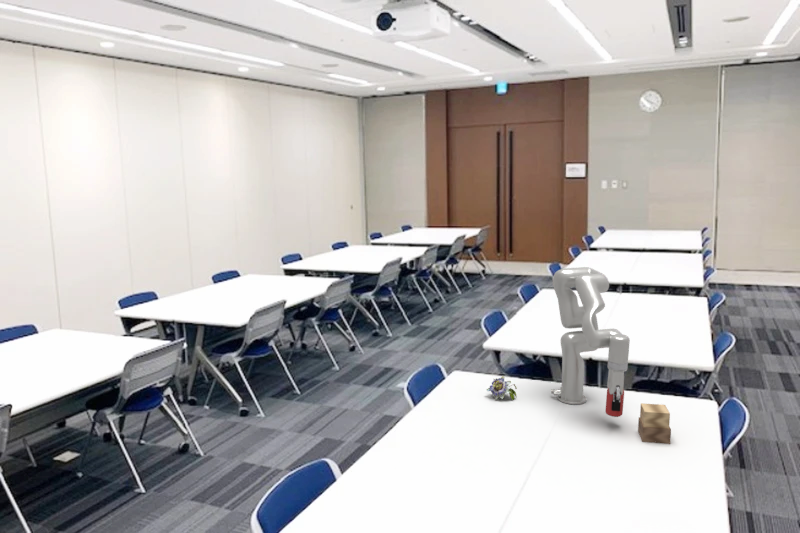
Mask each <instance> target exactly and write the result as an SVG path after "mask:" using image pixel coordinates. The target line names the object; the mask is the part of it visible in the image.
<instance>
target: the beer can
mask: <svg viewBox="0 0 800 533" xmlns="http://www.w3.org/2000/svg"><path fill="white" fill-rule="evenodd" d="M614 394H616V392H614ZM615 397H616V395H615ZM605 399H606V401H605V412H604V413H605V414H606V415H607V416H610V417H612V418H618V417H622V416H623V411H624V410H623V409H624V399H625V389H624V388H623V394H622V395H620V402H621V403H620V411H612V410H611V408H612V401H613V394H612V395H611V394H610V393H609V388H608V387H607V390H606V398H605Z"/></svg>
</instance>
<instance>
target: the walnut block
mask: <svg viewBox="0 0 800 533" xmlns="http://www.w3.org/2000/svg"><path fill="white" fill-rule="evenodd" d="M637 433H638V434H639V437H640V439H641V442H643V443H655V444H663V445H664V444H665V445H667V444H668V445H671V435H672V428H671V427H670V426H669V429H667V428H653V427H644V426H643V423H642V421H641V419H640V416H638V424H637Z"/></svg>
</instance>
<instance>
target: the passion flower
mask: <svg viewBox="0 0 800 533" xmlns="http://www.w3.org/2000/svg"><path fill="white" fill-rule="evenodd" d="M510 384H511V385H510ZM511 386H514V388H515V390H517V386H516V384H515V383H514V384H512V381H511V380H507V381H505V376H504V375H502V376H501V377H499V378H497V377H496V378H493V381H492V382H491V385H489V387H488V388H486V391H487V392H491V393H492V394H491V398H494V400H495V401H498V400H499V398H500V399H501V400H503V399H504V398H505V395H506V394H509V397H510V399H511V400H512V401H515V397H517V393H516V392H517V391H515V390H514V389H513V388H512V387H511Z"/></svg>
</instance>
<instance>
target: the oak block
mask: <svg viewBox="0 0 800 533" xmlns="http://www.w3.org/2000/svg"><path fill="white" fill-rule="evenodd" d="M639 413H640V414H639V417H640V419H641V421H642V423H643V426H644V427H653V428H667V429H669V427H670V420H671V419H670V418H671V413H670V411H669V409H668V408H667V406H666V404H659V403H657V404H656V403H640V412H639Z"/></svg>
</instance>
